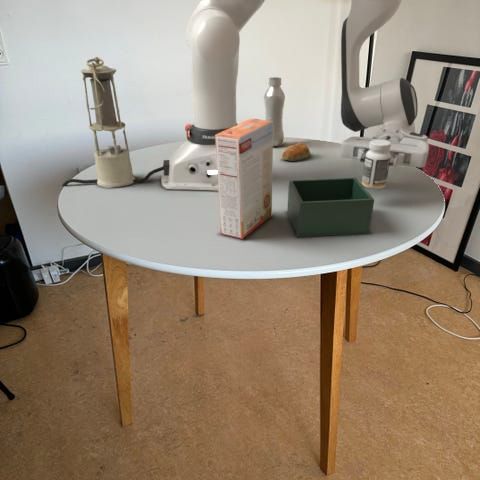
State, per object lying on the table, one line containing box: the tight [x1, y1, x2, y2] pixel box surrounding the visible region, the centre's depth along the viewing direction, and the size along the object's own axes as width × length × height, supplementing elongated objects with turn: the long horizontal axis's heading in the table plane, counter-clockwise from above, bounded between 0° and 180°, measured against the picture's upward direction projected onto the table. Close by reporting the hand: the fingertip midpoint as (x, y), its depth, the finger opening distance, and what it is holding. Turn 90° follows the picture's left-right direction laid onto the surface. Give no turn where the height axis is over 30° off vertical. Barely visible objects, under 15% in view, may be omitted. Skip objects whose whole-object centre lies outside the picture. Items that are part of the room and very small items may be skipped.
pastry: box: [281, 142, 311, 162], centre depth 140 cm, size 9×7×4 cm
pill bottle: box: [361, 140, 391, 190], centre depth 106 cm, size 6×6×10 cm
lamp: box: [80, 56, 136, 189], centre depth 116 cm, size 10×13×30 cm
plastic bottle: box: [263, 76, 286, 147], centre depth 146 cm, size 6×7×20 cm
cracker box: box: [215, 118, 274, 240], centre depth 96 cm, size 14×6×21 cm, turn 150°
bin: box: [286, 177, 375, 238], centre depth 101 cm, size 15×13×8 cm
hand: (376, 161), depth 105 cm, fingers closed on pill bottle, 5 cm apart
